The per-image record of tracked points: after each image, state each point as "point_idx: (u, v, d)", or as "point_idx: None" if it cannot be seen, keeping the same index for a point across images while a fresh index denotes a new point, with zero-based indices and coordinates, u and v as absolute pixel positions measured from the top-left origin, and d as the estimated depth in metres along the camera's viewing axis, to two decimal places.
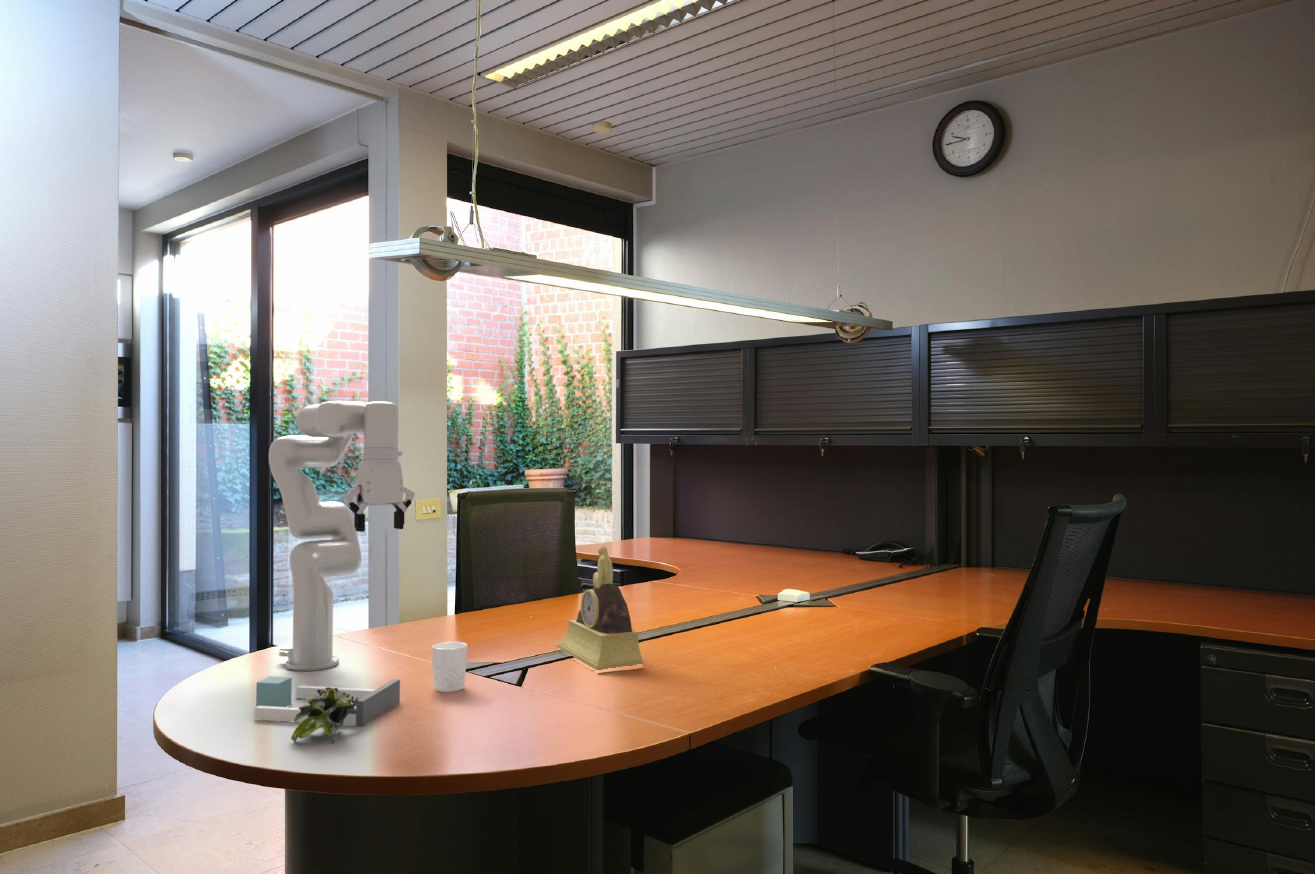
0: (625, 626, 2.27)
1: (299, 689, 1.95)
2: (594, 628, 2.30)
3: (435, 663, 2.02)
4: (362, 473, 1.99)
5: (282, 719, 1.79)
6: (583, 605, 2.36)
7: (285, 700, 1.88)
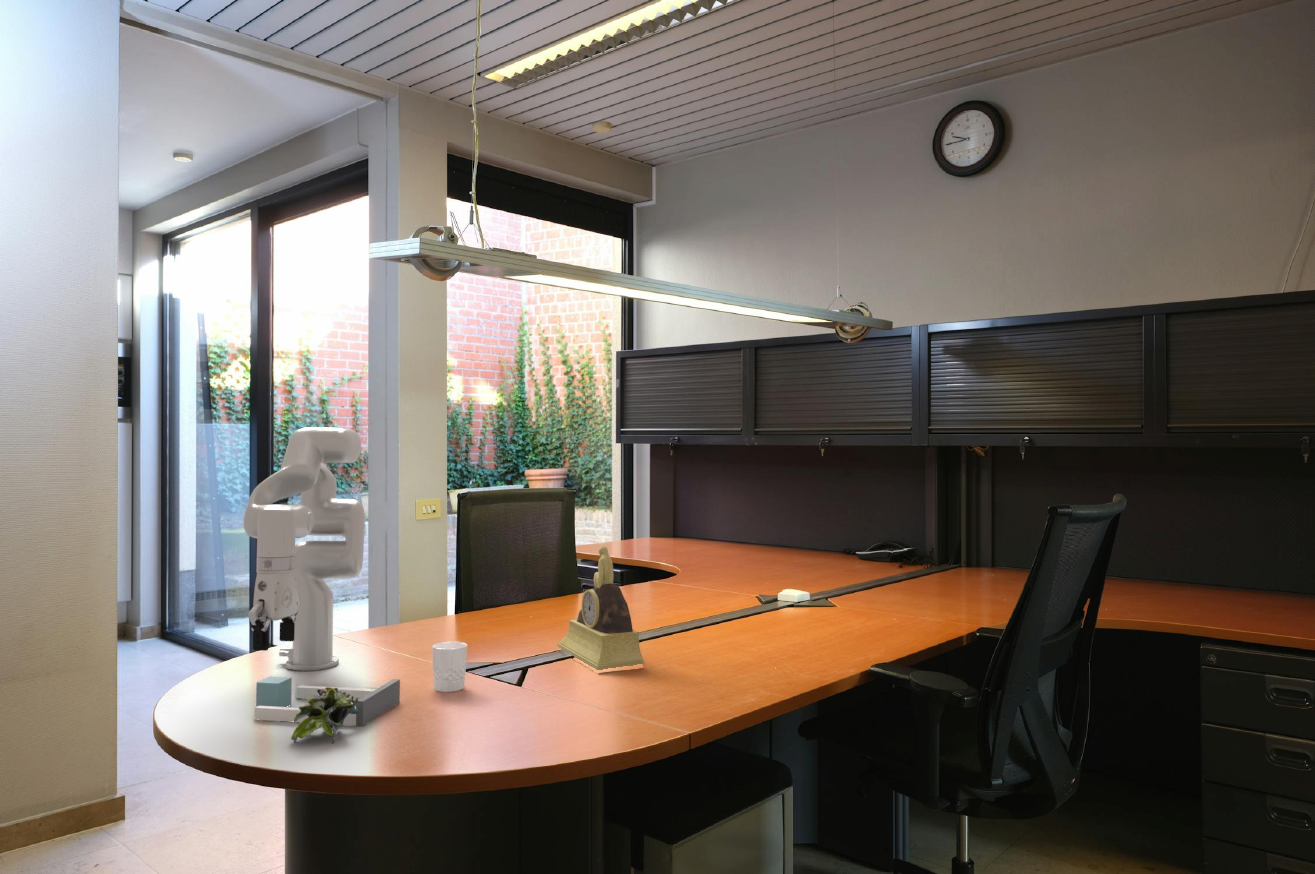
0: (626, 626, 2.27)
1: (299, 689, 1.95)
2: (595, 628, 2.30)
3: (435, 663, 2.02)
4: None
5: (282, 719, 1.79)
6: (584, 605, 2.36)
7: (285, 700, 1.88)
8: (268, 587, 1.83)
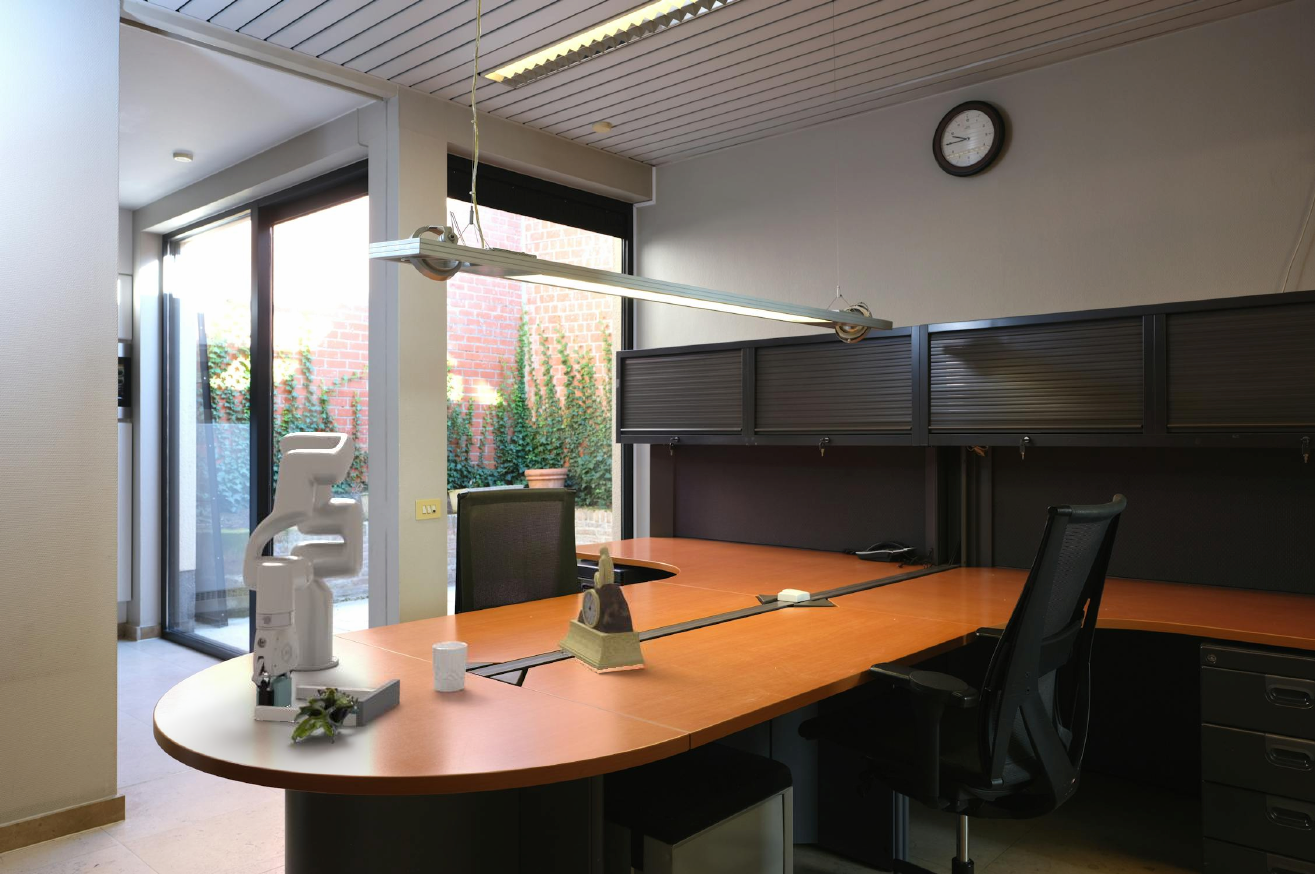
0: (627, 625, 2.28)
1: (299, 689, 1.95)
2: (595, 628, 2.30)
3: (435, 663, 2.02)
4: None
5: (282, 719, 1.79)
6: (584, 605, 2.36)
7: (285, 700, 1.88)
8: (268, 644, 1.84)
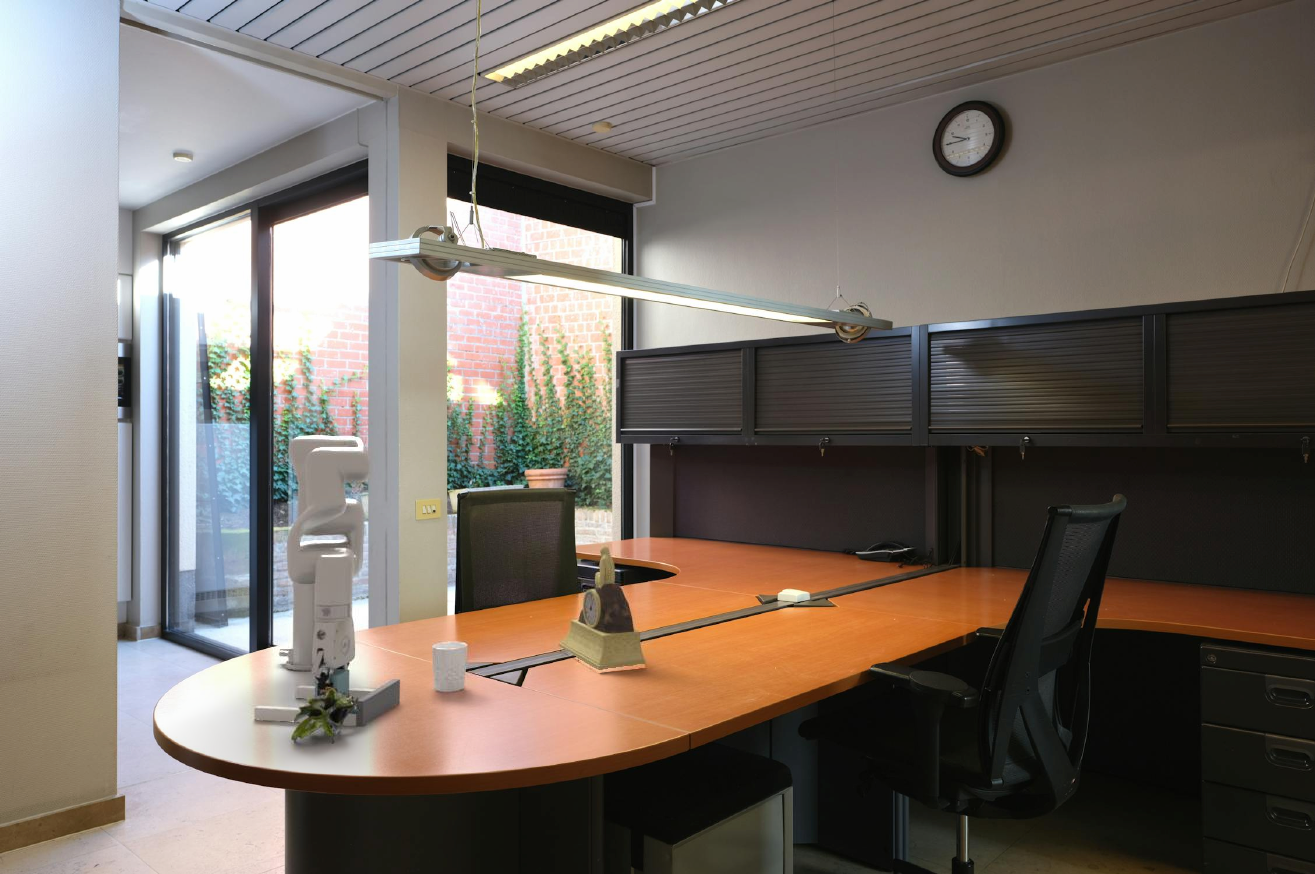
0: (627, 625, 2.28)
1: (299, 689, 1.95)
2: (596, 628, 2.30)
3: (435, 663, 2.02)
4: None
5: (282, 719, 1.79)
6: (585, 605, 2.36)
7: None
8: (327, 636, 1.82)
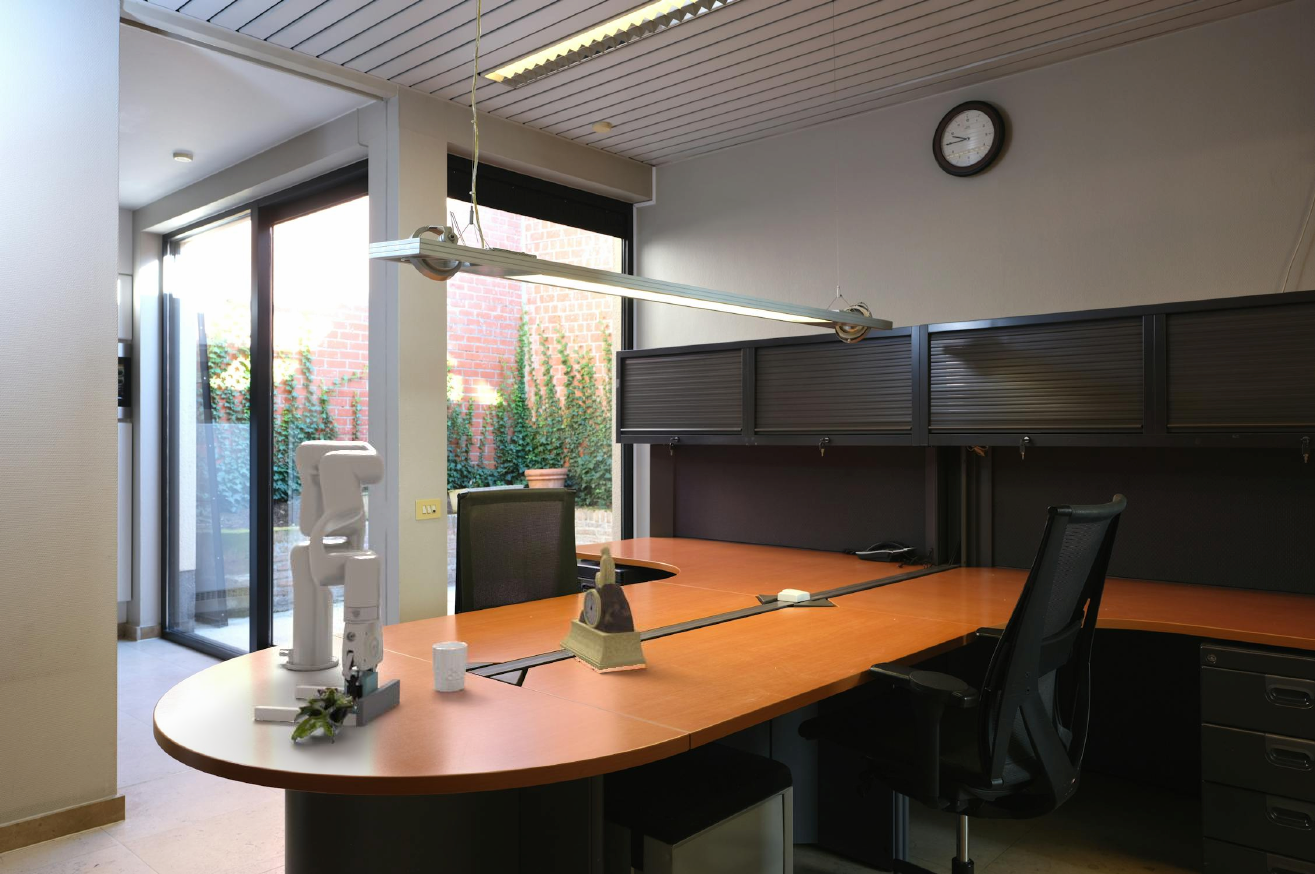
0: (628, 625, 2.28)
1: (299, 689, 1.95)
2: (596, 628, 2.31)
3: (435, 663, 2.02)
4: None
5: (282, 719, 1.79)
6: (585, 605, 2.37)
7: None
8: (357, 638, 1.81)
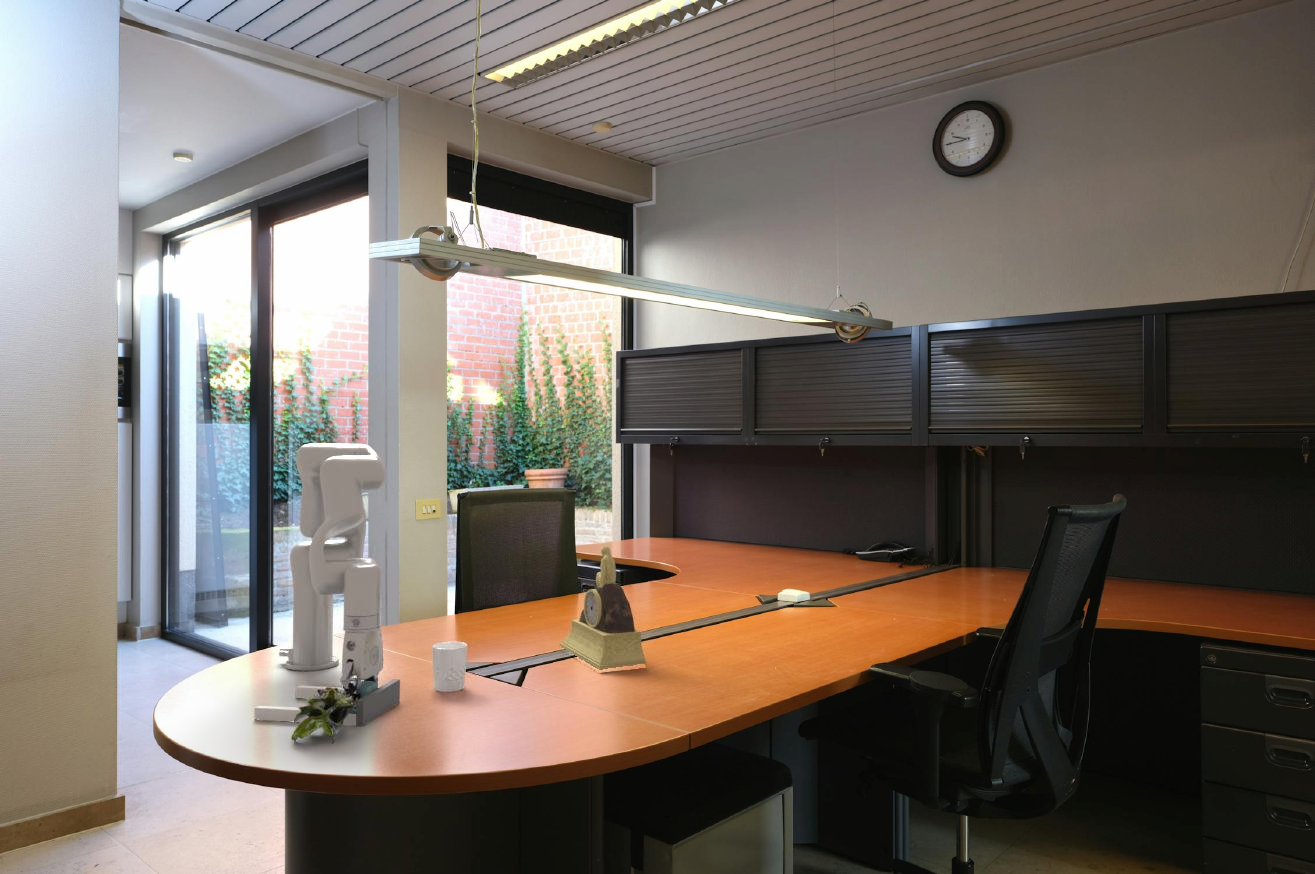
0: (628, 625, 2.28)
1: (299, 689, 1.95)
2: (597, 628, 2.31)
3: (435, 663, 2.02)
4: None
5: (282, 719, 1.79)
6: (586, 605, 2.37)
7: None
8: (357, 647, 1.81)
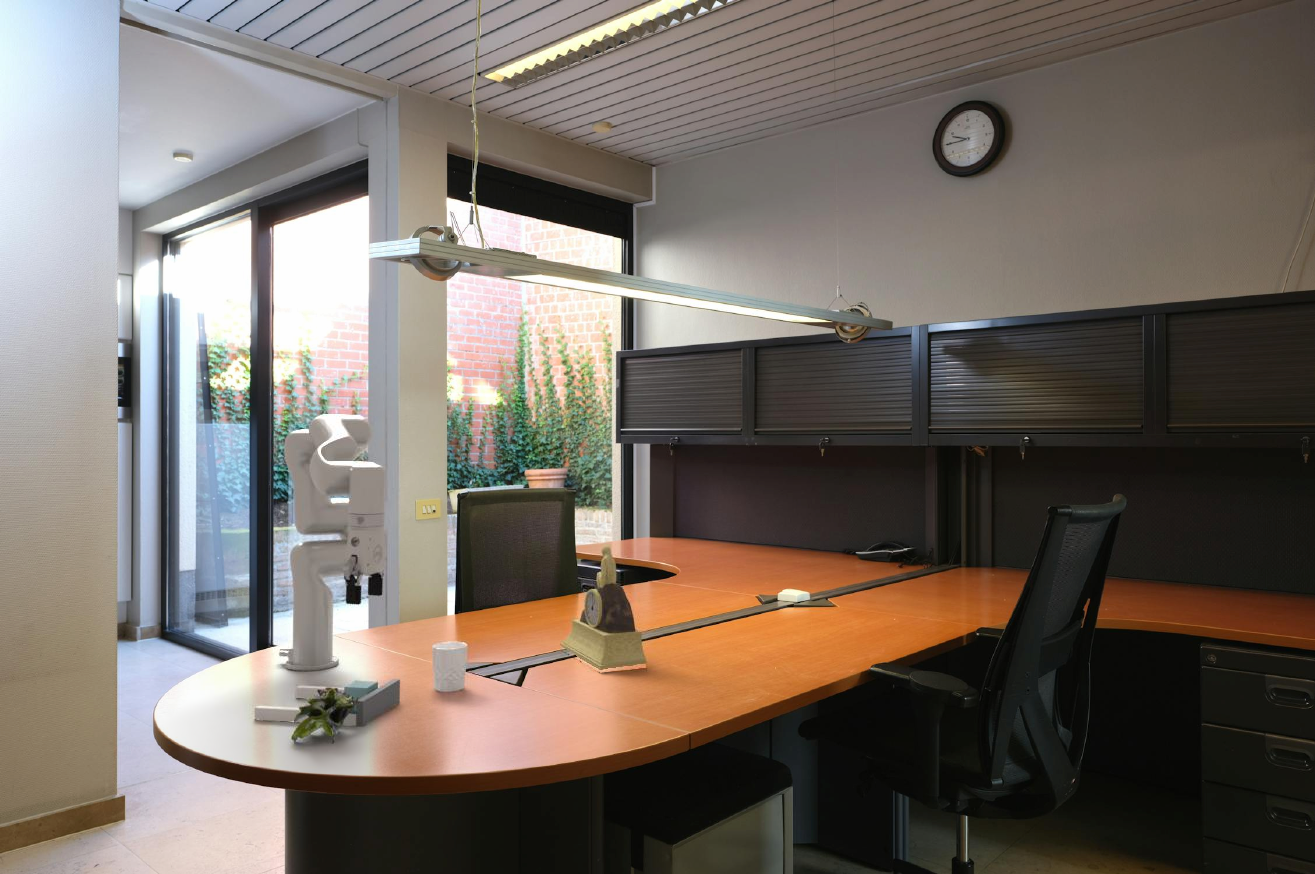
0: (629, 625, 2.28)
1: (299, 689, 1.95)
2: (597, 628, 2.31)
3: (435, 663, 2.02)
4: None
5: (282, 719, 1.79)
6: (587, 605, 2.37)
7: None
8: (361, 543, 1.87)
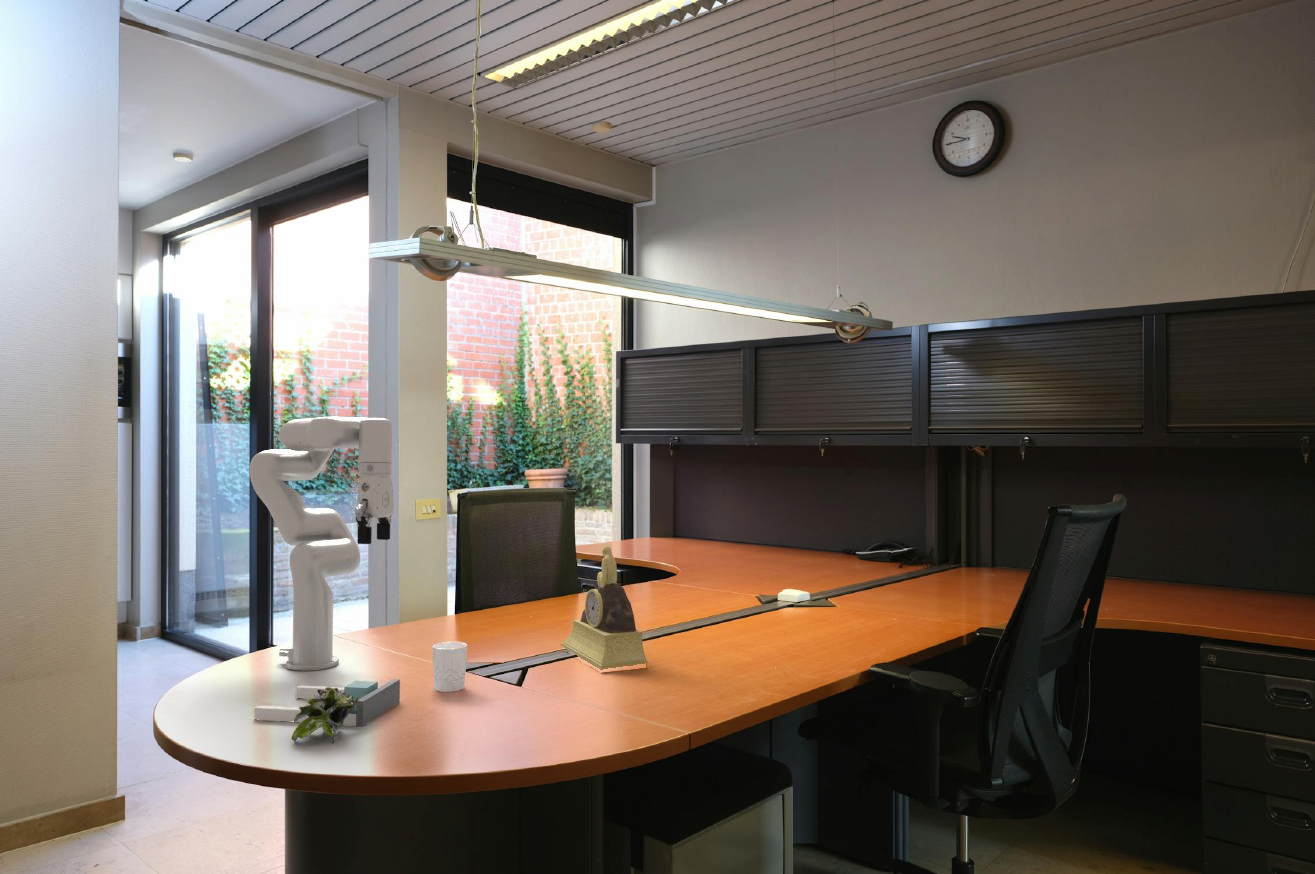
0: (629, 625, 2.28)
1: (299, 689, 1.95)
2: (598, 628, 2.31)
3: (435, 663, 2.02)
4: None
5: (282, 719, 1.79)
6: (587, 605, 2.37)
7: None
8: (371, 488, 2.05)
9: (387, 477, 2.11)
